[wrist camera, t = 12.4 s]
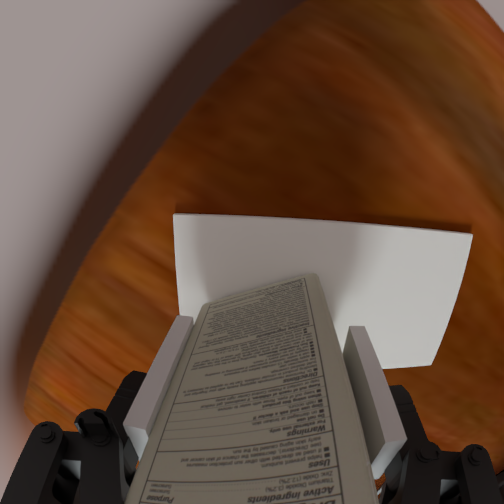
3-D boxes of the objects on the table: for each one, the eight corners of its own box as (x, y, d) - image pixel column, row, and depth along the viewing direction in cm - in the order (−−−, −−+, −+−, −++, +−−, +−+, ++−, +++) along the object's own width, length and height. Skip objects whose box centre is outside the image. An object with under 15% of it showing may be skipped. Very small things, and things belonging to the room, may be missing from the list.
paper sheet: (470, 233, 14) (472, 234, 14) (429, 362, 17) (431, 365, 17) (175, 213, 15) (173, 214, 14) (186, 358, 18) (185, 361, 18)
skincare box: (231, 362, 17) (189, 567, 6) (199, 299, 16) (103, 528, 4) (339, 336, 16) (383, 558, 4) (320, 264, 14) (385, 533, 3)
